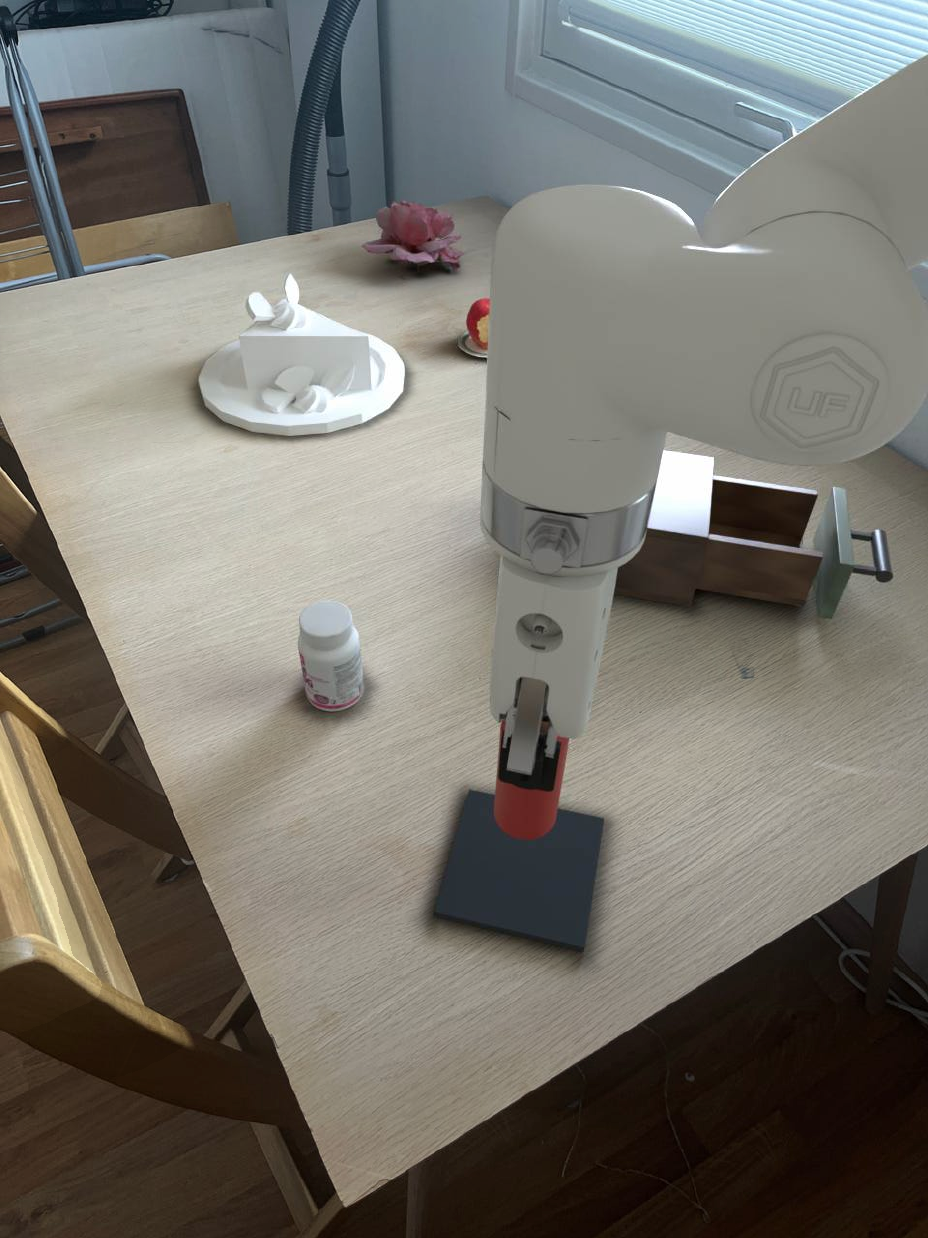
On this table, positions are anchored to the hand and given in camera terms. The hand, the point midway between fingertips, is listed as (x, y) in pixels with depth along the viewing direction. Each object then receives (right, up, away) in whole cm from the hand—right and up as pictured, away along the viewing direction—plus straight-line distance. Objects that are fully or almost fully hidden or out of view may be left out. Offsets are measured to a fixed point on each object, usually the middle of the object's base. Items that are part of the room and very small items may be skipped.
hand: (534, 748), depth 51 cm
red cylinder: (0, -5, +5) cm, 7 cm away
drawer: (+25, +12, +31) cm, 42 cm away
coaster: (0, -10, +9) cm, 13 cm away
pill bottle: (-15, +2, +21) cm, 25 cm away
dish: (-24, +37, +57) cm, 72 cm away
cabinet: (+10, +14, +34) cm, 38 cm away
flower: (-11, +60, +82) cm, 102 cm away
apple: (-1, +43, +64) cm, 78 cm away
